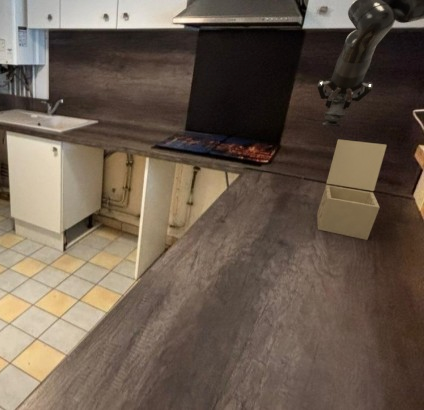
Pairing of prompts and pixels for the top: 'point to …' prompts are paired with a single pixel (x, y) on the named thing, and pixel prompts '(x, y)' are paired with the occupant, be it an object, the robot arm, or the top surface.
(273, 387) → the top surface
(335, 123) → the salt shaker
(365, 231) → the tan open box
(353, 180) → the lid
